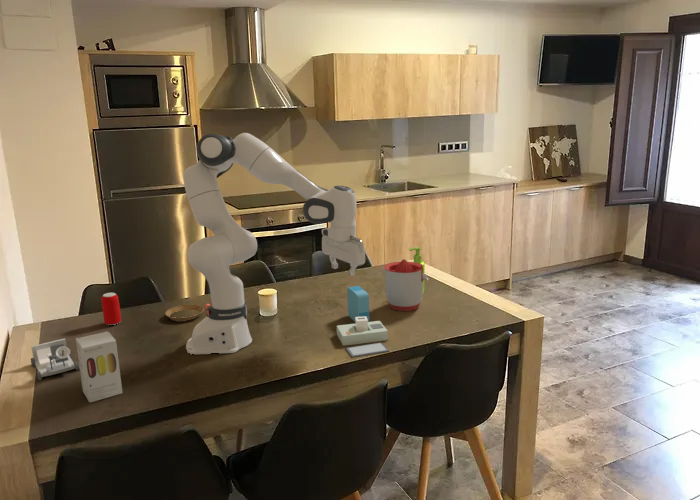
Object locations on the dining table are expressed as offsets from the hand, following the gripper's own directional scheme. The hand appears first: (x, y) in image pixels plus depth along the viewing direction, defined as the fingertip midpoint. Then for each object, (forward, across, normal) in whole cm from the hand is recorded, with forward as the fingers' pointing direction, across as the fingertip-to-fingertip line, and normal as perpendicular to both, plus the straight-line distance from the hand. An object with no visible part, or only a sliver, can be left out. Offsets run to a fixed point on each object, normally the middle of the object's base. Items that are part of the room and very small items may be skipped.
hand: (343, 271), depth 200 cm
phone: (+23, -18, +3) cm, 29 cm away
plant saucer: (+27, +56, +36) cm, 71 cm away
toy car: (+27, +39, +87) cm, 99 cm away
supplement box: (+25, +12, +80) cm, 85 cm away
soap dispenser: (+23, +14, -52) cm, 58 cm away
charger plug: (+23, -8, -3) cm, 24 cm away
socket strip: (+23, -8, -2) cm, 24 cm away
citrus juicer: (+23, +4, -36) cm, 43 cm away
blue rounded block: (+24, +6, -12) cm, 27 cm away
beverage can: (+27, +67, +60) cm, 94 cm away
